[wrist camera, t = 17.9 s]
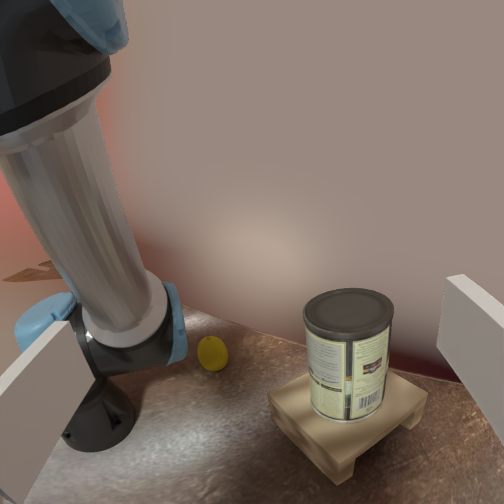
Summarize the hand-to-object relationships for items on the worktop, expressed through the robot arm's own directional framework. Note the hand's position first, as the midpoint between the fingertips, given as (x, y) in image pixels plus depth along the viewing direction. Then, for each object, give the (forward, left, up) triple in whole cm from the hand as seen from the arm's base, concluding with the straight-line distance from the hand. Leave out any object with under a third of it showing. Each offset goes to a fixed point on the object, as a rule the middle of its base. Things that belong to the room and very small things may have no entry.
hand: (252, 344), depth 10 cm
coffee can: (-15, +18, -26) cm, 35 cm away
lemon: (-40, +8, -32) cm, 52 cm away
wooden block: (-15, +18, -32) cm, 40 cm away
